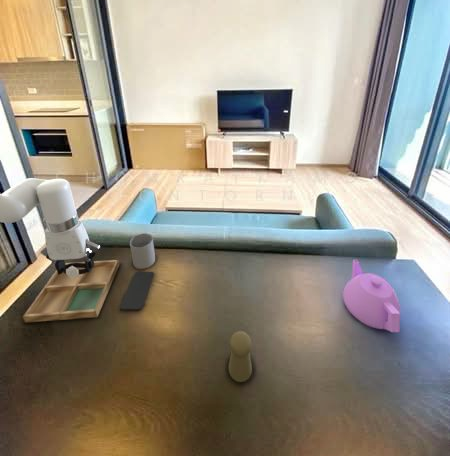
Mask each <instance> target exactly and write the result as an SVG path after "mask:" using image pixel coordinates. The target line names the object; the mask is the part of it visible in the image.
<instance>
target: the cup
mask: <svg viewBox="0 0 450 456" xmlns="http://www.w3.org/2000/svg"><path fill="white" fill-rule="evenodd" d="M129 246H130V253H131V258H132V264H133V267H134V268H136V269H138V270H144V269H148V268H150V267H151V266H152V265H154V263H155V262H156V254H155V246H154V237H153V236H152V234H150V233H147V232H145V233H144V232H143V233H139V234H136V235H135V236H133V237H132V238H131V239H130V240H129Z"/></svg>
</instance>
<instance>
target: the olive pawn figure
mask: <svg viewBox="0 0 450 456" xmlns="http://www.w3.org/2000/svg"><path fill="white" fill-rule="evenodd" d="M229 347H230V350H231V352H230V357H229V361H228V362H229V363H228V373H229V375H230V377H231V378H232V379H233V380H234V381H235V382H238V383H243V382H246V381H247V380H249V379H250V377H251V375H252V373H253V372H252V371H253V366H252V360H251V353H250V352H251V350H252V340H251V337H250V335H249V334H248V333H247V332H245V331H242V330H241V331H240V330H238V331H235V333H233V334H232V336H231V338H230V341H229Z"/></svg>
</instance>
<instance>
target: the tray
mask: <svg viewBox="0 0 450 456" xmlns="http://www.w3.org/2000/svg"><path fill="white" fill-rule="evenodd" d="M93 261H94V260H93ZM71 263H72V262H65V265H67V264H71ZM75 263H85V261H80V262H79V261H78V262H77V261H76V262H75ZM119 268H120V260H119V259H111V260H96V261H94V267H93V268H92V269H91V271H90V272H87V273H85V274H79V275H77V276H75V277H69V276H68V275H67V274H65V273H63V272H62V273H61V274H58V272H57V270H56V269H55V270H54V273H52V275H51V276H50V278H49V280H48V281H47V282H46V284H45V285H44V287H43V288H42V289H41V291H40V292H39V294H38V295H37V296H36V298H35V300H33V301H32V303H31V305H30V306H29V307H28V308H27V310H26V312H25V313H24V314H23V316H22V318H23V321H24V323H37V322H38V323H39V322H50V321H51V322H52V321H63V320H75V319H89V318H98V317H99V314H100V312H101V309H102V308H103V305H104V302H105V301H106V298H107V296H108V293H109V291H110V288H111V286H112V283H113V281H114V279H115V276H116V275H117V272H118V269H119ZM77 269H85V268H77Z"/></svg>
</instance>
